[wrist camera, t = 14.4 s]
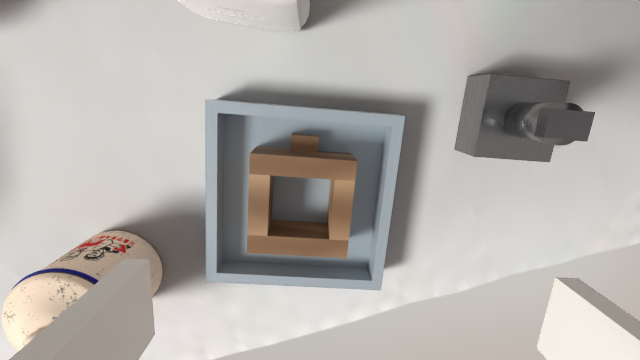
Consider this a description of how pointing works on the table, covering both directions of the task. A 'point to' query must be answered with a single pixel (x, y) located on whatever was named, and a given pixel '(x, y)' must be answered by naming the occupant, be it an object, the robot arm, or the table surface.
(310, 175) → the walnut ring
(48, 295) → the teacup with lid
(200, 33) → the table surface
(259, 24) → the photo printer
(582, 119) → the metal stake
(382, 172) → the slate tray
